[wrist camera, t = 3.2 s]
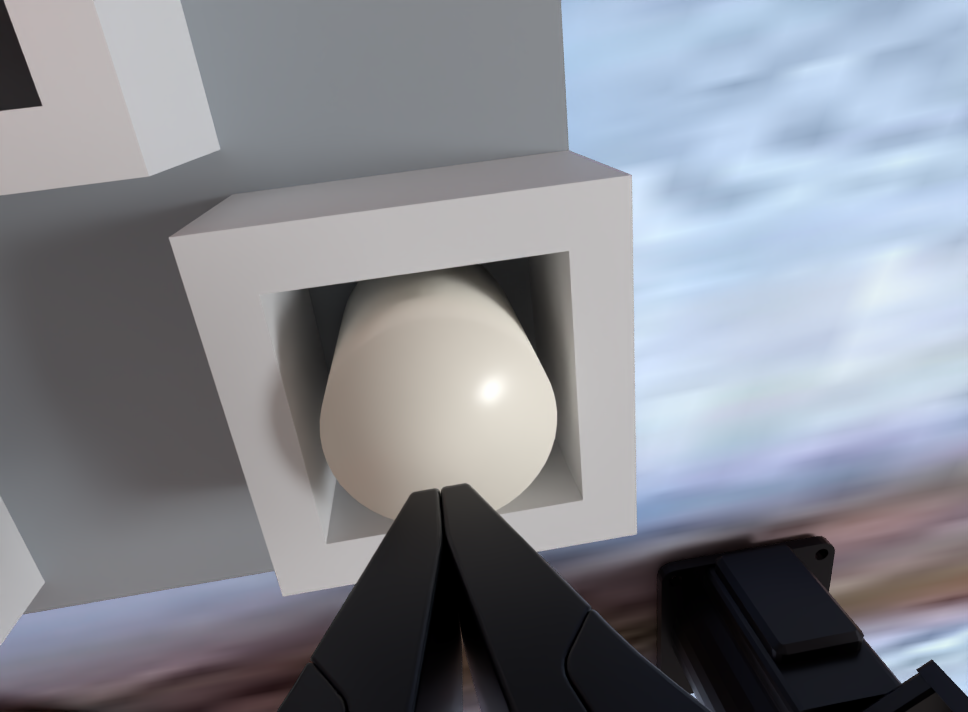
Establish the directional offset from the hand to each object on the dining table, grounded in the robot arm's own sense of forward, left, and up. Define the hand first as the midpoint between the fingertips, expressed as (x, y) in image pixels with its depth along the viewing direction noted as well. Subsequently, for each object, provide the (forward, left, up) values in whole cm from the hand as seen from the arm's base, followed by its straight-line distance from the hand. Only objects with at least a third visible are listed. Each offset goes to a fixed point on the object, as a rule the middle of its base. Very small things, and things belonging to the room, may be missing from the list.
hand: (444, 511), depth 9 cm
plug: (0, 0, -8) cm, 8 cm away
